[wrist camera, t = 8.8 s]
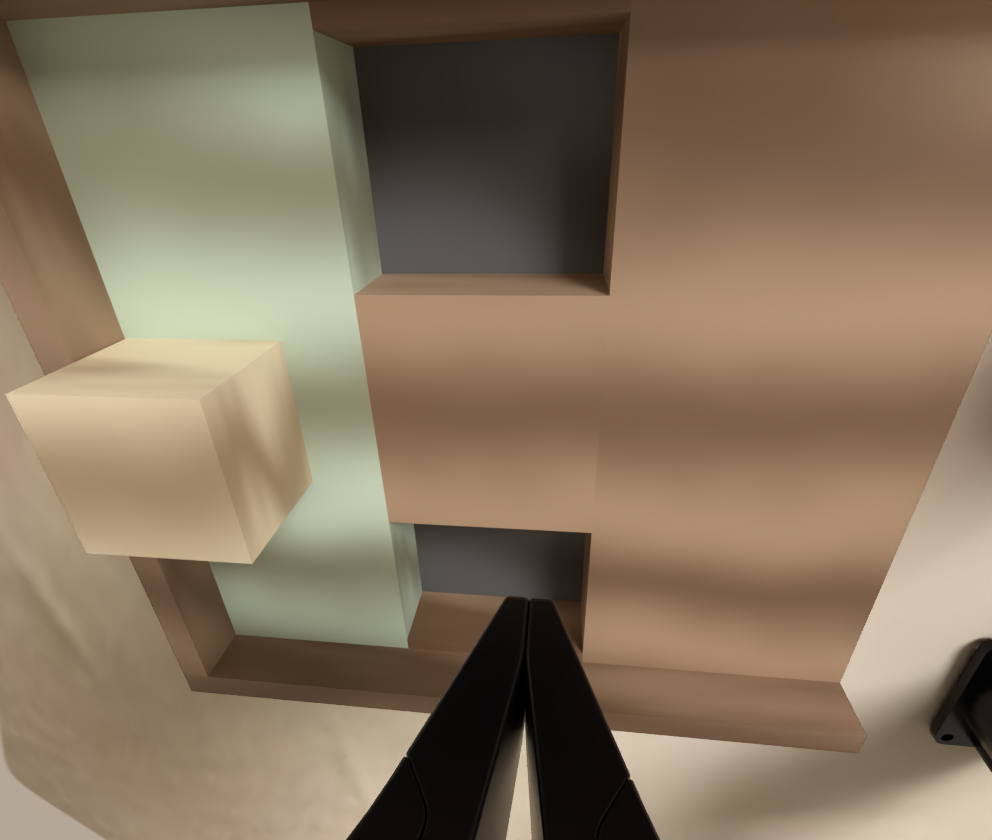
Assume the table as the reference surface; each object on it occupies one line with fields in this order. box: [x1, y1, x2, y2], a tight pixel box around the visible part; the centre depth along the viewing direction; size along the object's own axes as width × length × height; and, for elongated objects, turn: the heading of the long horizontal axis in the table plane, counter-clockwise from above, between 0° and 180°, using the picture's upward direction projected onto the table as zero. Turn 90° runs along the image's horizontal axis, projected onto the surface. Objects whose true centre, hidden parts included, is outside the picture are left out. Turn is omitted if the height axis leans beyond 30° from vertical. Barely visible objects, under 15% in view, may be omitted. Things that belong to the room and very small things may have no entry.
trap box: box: [0, 0, 992, 753], centre depth 17 cm, size 23×25×5 cm
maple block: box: [5, 338, 313, 564], centre depth 15 cm, size 5×5×4 cm
